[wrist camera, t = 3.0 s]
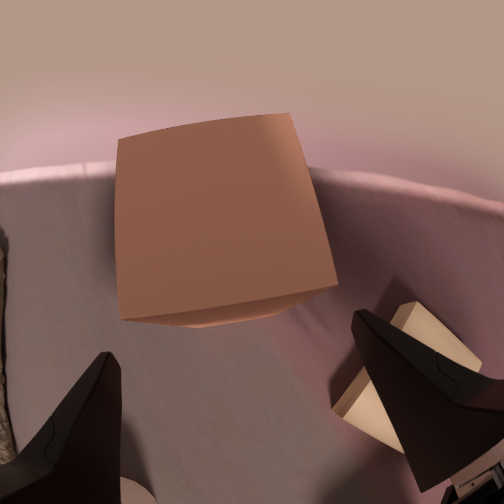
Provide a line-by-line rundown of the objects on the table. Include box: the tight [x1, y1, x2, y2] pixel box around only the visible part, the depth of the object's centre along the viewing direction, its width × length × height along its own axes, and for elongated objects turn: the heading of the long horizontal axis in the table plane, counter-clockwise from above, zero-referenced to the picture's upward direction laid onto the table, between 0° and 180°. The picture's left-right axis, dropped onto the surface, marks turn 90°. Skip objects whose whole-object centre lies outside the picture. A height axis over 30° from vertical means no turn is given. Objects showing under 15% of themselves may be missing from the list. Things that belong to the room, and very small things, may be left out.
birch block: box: [331, 301, 482, 454], centre depth 18 cm, size 10×10×3 cm
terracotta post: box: [115, 113, 338, 328], centre depth 14 cm, size 6×6×14 cm
